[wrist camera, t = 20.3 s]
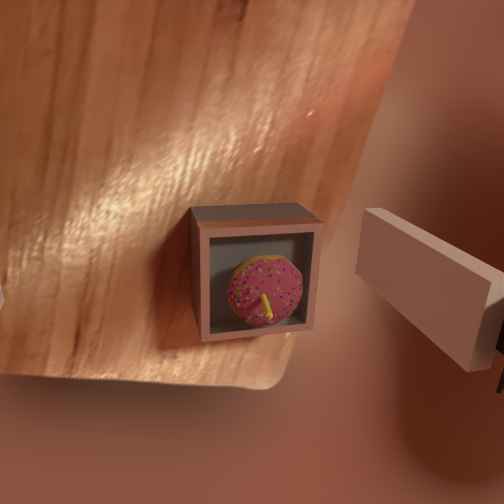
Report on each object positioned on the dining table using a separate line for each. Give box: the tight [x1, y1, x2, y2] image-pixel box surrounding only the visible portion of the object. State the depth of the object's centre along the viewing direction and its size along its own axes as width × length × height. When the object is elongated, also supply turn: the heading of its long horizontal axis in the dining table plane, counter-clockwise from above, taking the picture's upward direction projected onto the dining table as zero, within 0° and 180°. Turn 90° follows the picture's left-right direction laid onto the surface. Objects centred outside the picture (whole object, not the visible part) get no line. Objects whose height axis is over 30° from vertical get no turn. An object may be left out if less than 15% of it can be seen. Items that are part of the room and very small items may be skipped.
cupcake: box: [227, 255, 303, 327], centre depth 46 cm, size 9×8×12 cm
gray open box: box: [190, 203, 314, 327], centre depth 54 cm, size 14×14×6 cm
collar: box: [197, 216, 323, 342], centre depth 50 cm, size 14×14×2 cm
